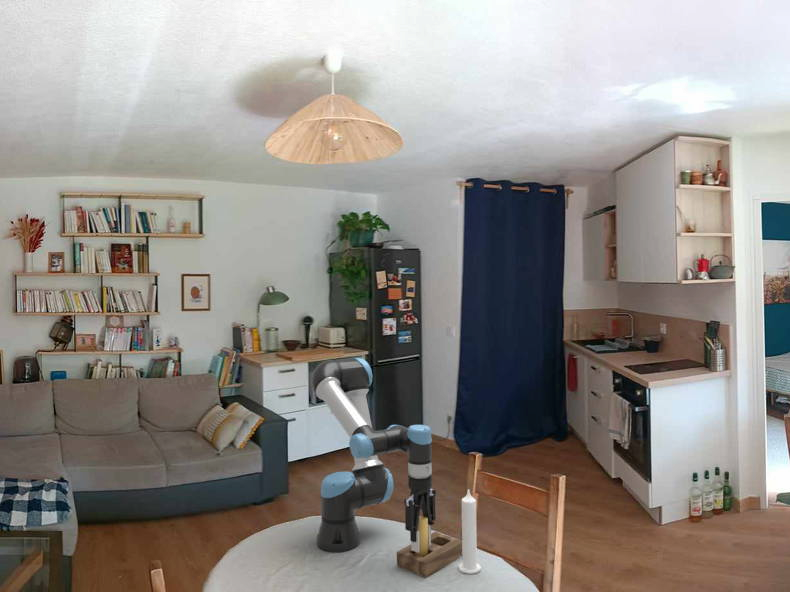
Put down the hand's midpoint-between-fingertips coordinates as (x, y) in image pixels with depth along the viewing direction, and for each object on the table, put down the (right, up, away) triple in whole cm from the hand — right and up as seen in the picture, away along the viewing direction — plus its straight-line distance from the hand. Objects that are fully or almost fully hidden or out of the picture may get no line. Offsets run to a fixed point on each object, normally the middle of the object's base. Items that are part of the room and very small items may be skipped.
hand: (421, 547), depth 182 cm
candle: (+15, -6, -3) cm, 16 cm away
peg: (0, -6, 0) cm, 6 cm away
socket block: (+3, -6, +4) cm, 8 cm away
